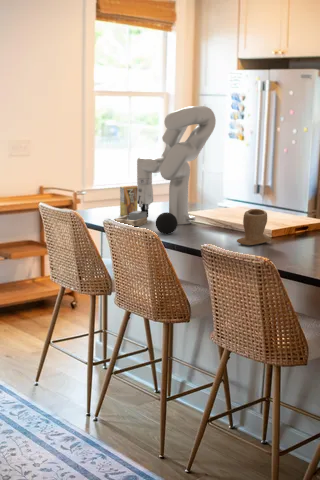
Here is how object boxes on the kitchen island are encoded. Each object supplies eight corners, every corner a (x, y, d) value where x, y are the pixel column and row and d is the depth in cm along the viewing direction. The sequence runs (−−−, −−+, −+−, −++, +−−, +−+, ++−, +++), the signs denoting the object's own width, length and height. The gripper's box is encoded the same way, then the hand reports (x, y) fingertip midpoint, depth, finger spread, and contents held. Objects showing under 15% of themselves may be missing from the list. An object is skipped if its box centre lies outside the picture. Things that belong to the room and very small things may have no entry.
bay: (147, 223, 358) (147, 217, 358) (135, 227, 347) (135, 220, 347) (125, 221, 363) (125, 215, 363) (114, 225, 352) (113, 219, 352)
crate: (146, 220, 366) (146, 211, 365) (139, 223, 359) (139, 213, 358) (136, 219, 369) (136, 210, 368) (129, 222, 362) (128, 212, 361)
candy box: (133, 213, 388) (132, 185, 385) (138, 214, 385) (137, 186, 382) (119, 215, 382) (119, 186, 379) (124, 216, 379) (124, 187, 376)
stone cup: (252, 248, 297) (253, 212, 295) (232, 244, 307) (233, 209, 304) (278, 244, 306) (279, 209, 303) (258, 239, 316) (259, 206, 313)
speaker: (154, 232, 334) (154, 211, 332) (176, 231, 334) (176, 210, 333) (156, 236, 324) (156, 214, 322) (178, 235, 325) (178, 214, 323)
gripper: (144, 183, 357) (144, 220, 361) (157, 180, 371) (157, 215, 374) (131, 182, 361) (131, 218, 364) (144, 179, 374) (144, 214, 377)
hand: (144, 217), depth 369 cm, fingers closed
